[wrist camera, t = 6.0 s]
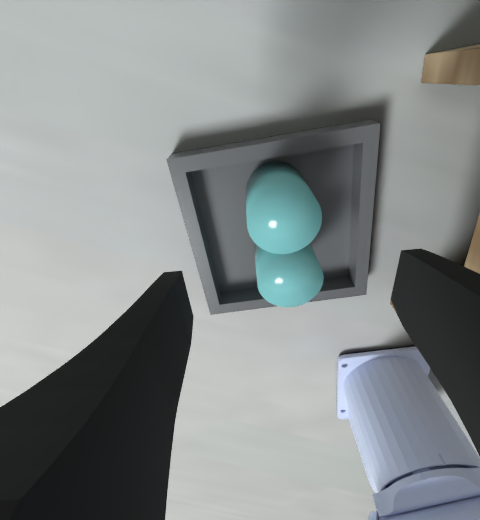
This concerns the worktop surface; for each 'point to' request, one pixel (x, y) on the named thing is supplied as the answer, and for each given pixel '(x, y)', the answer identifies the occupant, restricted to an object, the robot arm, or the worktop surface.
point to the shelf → (464, 73)
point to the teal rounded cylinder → (288, 276)
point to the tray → (235, 219)
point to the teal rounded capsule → (281, 209)
